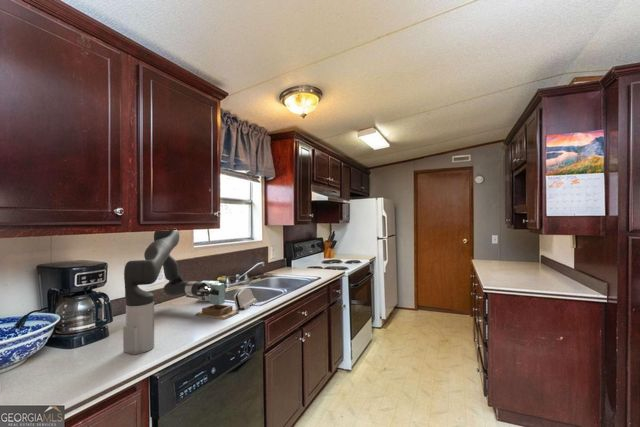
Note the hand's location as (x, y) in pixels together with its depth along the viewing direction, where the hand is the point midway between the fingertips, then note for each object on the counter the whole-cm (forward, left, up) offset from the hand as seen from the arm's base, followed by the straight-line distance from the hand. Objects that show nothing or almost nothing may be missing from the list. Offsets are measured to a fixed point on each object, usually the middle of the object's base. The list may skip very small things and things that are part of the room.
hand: (221, 292), depth 156 cm
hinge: (+18, -1, -12) cm, 22 cm away
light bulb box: (+20, +28, -12) cm, 36 cm away
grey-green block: (0, +3, -6) cm, 7 cm away
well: (0, +3, -11) cm, 12 cm away
